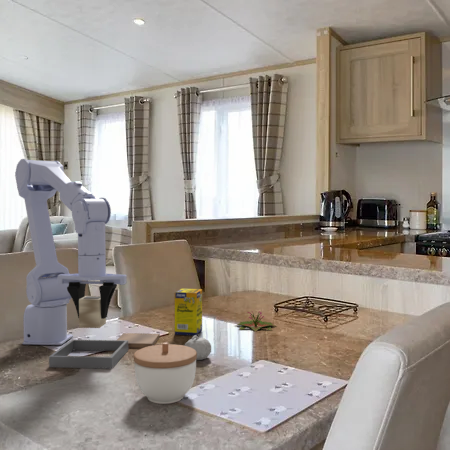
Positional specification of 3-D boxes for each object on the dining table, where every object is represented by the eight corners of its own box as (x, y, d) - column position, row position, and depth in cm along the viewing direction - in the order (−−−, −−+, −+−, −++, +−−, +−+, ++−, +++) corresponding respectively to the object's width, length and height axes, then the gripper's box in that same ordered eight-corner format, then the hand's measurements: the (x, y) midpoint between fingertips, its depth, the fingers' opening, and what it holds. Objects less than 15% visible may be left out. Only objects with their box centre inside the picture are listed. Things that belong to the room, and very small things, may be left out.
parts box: (79, 327, 109) (78, 299, 109) (86, 322, 114) (85, 295, 113) (99, 328, 109) (99, 299, 109) (105, 323, 113) (105, 295, 113)
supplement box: (197, 336, 129) (196, 292, 129) (174, 334, 130) (173, 291, 130) (202, 330, 135) (202, 288, 135) (180, 329, 136) (180, 288, 136)
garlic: (190, 364, 107) (190, 339, 106) (180, 357, 111) (180, 333, 111) (216, 360, 109) (216, 336, 109) (205, 353, 114) (205, 330, 114)
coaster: (113, 347, 119) (113, 343, 119) (123, 337, 128) (123, 333, 128) (152, 347, 119) (152, 343, 119) (159, 337, 128) (159, 333, 128)
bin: (49, 367, 105) (49, 356, 105) (72, 349, 118) (72, 339, 118) (112, 368, 104) (112, 357, 104) (128, 350, 117) (128, 340, 117)
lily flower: (277, 323, 145) (277, 307, 145) (278, 334, 133) (278, 316, 133) (234, 322, 146) (234, 306, 145) (232, 333, 134) (232, 315, 133)
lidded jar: (136, 387, 94) (136, 335, 93) (196, 385, 94) (195, 334, 94) (131, 410, 83) (130, 353, 82) (197, 408, 84) (197, 351, 83)
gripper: (51, 256, 107) (52, 321, 108) (120, 256, 106) (120, 322, 107) (64, 252, 114) (65, 313, 115) (128, 253, 113) (129, 314, 114)
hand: (92, 317), depth 111 cm, fingers closed on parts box, 4 cm apart
